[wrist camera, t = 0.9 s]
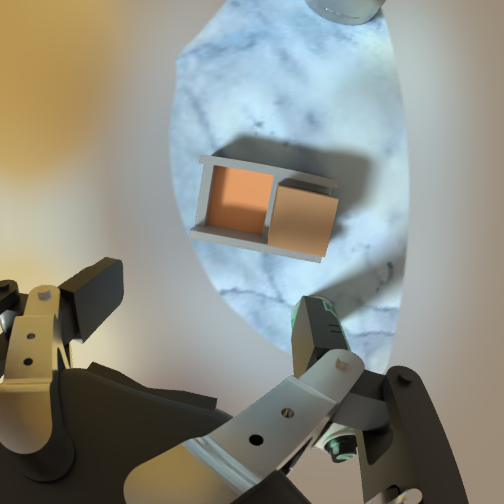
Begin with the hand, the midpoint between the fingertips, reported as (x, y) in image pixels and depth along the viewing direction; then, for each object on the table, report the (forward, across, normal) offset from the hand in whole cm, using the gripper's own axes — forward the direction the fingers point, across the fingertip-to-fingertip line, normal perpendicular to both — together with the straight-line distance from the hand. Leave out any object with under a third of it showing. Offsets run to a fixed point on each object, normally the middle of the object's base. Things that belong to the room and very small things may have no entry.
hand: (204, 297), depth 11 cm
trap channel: (+19, -2, -2) cm, 19 cm away
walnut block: (+17, -5, -2) cm, 18 cm away
